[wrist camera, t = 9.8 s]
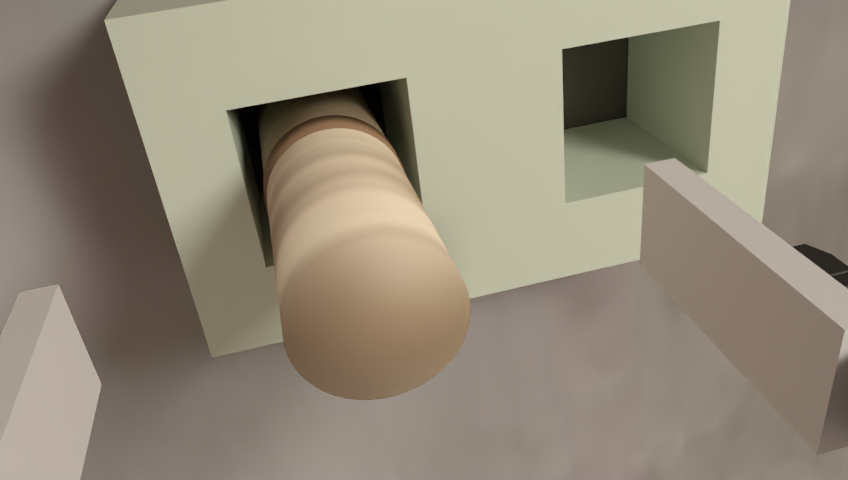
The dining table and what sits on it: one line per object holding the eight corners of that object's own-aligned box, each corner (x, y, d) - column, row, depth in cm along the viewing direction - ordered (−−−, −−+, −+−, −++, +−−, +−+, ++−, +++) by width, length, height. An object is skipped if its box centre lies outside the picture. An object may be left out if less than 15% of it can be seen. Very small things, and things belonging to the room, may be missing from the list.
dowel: (243, 71, 26) (259, 262, 14) (357, 50, 27) (463, 218, 15) (268, 176, 28) (301, 420, 16) (374, 155, 29) (480, 376, 17)
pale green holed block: (129, -19, 24) (104, 20, 19) (692, -106, 27) (801, -92, 22) (214, 267, 30) (212, 357, 25) (676, 169, 33) (760, 231, 27)
